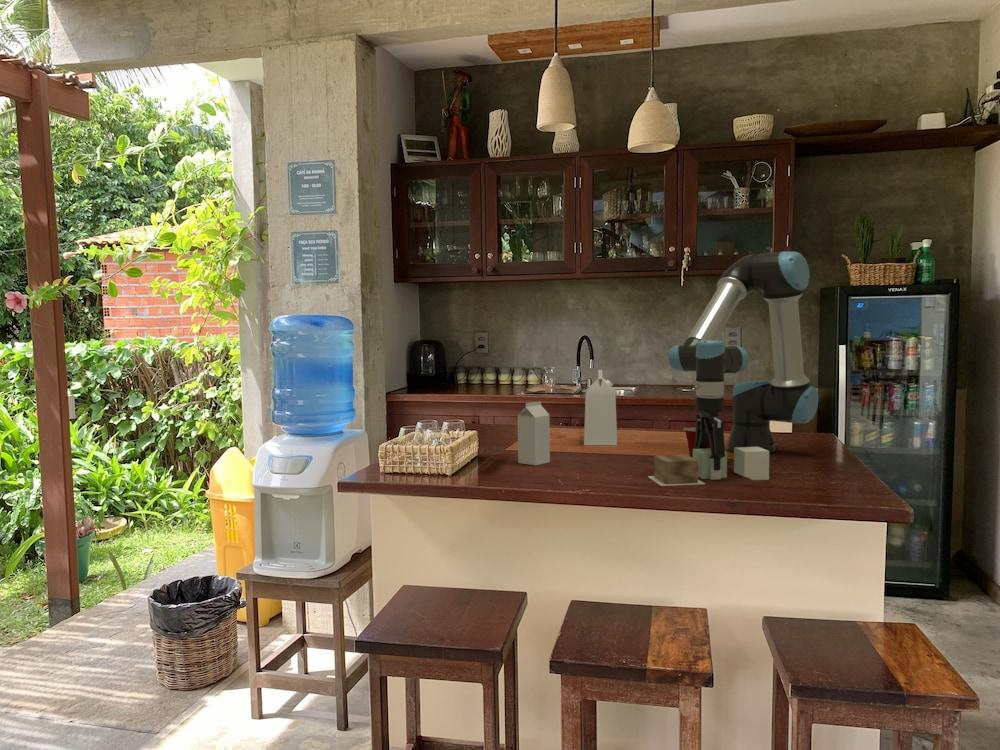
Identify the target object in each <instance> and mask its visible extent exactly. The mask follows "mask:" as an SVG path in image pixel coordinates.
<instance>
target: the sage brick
mask: <svg viewBox="0 0 1000 750" xmlns="http://www.w3.org/2000/svg"><path fill="white" fill-rule="evenodd" d="M710 456H712V453H711V448H707V449H693V458H694V459H696V460H698V478H700V479H702V480H703V479H704V480H705V479H707V480H708V479H710V458H709V457H710ZM727 478H728V451H725V457H722V458H721V479H727Z"/></svg>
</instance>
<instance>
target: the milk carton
mask: <svg viewBox="0 0 1000 750" xmlns="http://www.w3.org/2000/svg"><path fill="white" fill-rule="evenodd" d="M550 438H551V437H550V414H549V413H548V411H547V410H546V409H545V408H544V407H543V405H542V401H534V402H533V401H532V402H526V403H525V407H524V408H523V409H522V410H521V411H520V412H519V413H518V414H517V463H518V464H523V465H529V466H541V465H544V464H548V463H550V462H551V447H550V446H551V443H550V441H551V440H550Z"/></svg>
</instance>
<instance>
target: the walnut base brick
mask: <svg viewBox="0 0 1000 750" xmlns="http://www.w3.org/2000/svg"><path fill="white" fill-rule="evenodd" d="M653 458H654V460H653V461H654V463H653V464H654V465H653V470H654V471H653V472H654V473H653V476H654V477H655V478H656V479H658V480H659V481H661V482H662V483H664V484H684V483H698V480H699V477H698V460H696V459H694V458H692V457H690V455H689V454H669V455H668V454H667V455H666V454H663V455H661V454H660V455H659V454H658V455H657V454H656V455H654V457H653Z"/></svg>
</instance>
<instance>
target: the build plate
mask: <svg viewBox="0 0 1000 750" xmlns="http://www.w3.org/2000/svg"><path fill="white" fill-rule="evenodd" d="M647 478H649V479H650V480H652V481H653V482H655V483H656V484H657V485H659V486H661V487H667V486H668V487H669V486H671V487H673V486H688V485H690V486H691V485H706V483H705V482H703V481H701V480H700V479H698V483H684V484H664V483H662V482H661V481H659V480H658V479H656V478H655V477H654V475H650V476H647Z"/></svg>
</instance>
